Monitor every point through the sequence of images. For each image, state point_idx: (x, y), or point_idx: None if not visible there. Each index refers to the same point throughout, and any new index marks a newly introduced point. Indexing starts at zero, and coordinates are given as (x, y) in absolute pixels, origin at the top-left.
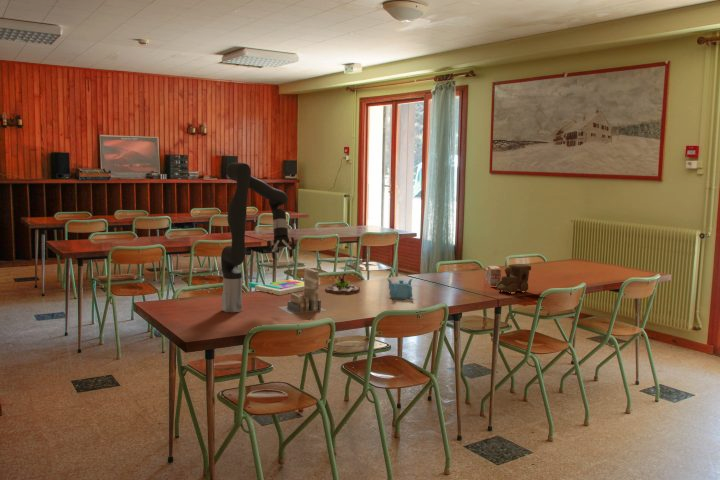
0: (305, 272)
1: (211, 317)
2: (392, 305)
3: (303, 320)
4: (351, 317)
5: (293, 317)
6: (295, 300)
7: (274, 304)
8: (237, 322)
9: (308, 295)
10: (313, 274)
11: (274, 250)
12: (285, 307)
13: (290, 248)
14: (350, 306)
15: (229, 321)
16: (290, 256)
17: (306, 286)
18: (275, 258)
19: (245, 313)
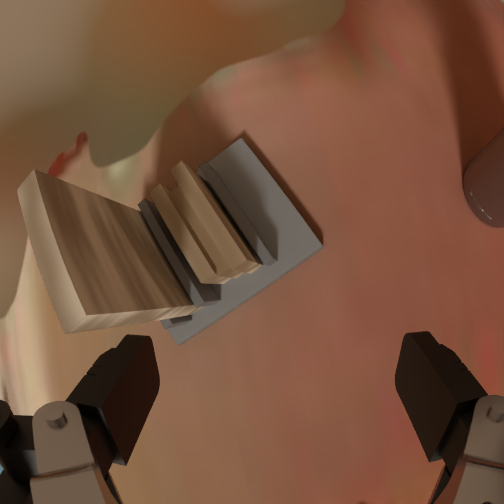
0: (100, 296)
1: (500, 90)
2: (3, 370)
3: (190, 113)
4: None
5: (230, 138)
6: (220, 213)
7: (361, 353)
8: (400, 44)
9: (156, 257)
10: (50, 184)
11: (468, 429)
12: (284, 243)
13: (52, 410)
14: (70, 355)
15: (428, 51)
16: (135, 336)
17: (146, 280)
18: (403, 371)
19: (434, 155)
